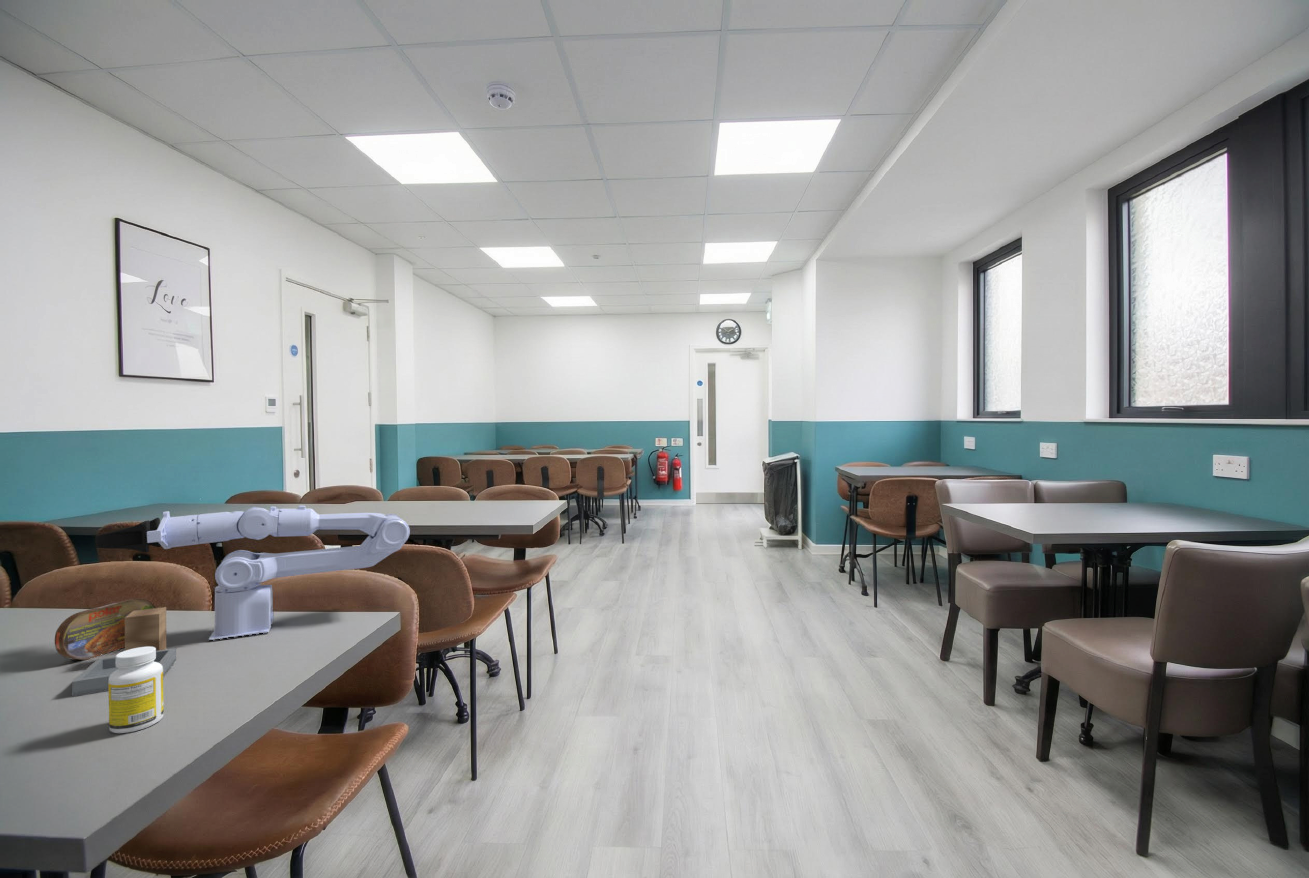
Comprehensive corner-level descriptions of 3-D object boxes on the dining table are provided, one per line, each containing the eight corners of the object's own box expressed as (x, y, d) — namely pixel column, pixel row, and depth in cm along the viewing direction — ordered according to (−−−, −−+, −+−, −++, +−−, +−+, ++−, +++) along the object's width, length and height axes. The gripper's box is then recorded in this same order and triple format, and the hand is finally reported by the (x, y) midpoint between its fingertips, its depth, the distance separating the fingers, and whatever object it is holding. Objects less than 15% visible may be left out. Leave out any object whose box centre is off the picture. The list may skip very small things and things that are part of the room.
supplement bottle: (132, 715, 78) (132, 644, 78) (173, 713, 78) (173, 643, 78) (96, 735, 72) (96, 659, 72) (141, 733, 73) (141, 658, 73)
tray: (176, 660, 97) (176, 647, 97) (159, 682, 88) (159, 668, 88) (97, 672, 92) (97, 658, 92) (72, 696, 83) (72, 681, 83)
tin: (64, 667, 94) (64, 617, 94) (50, 665, 95) (50, 616, 95) (159, 636, 109) (159, 593, 109) (146, 635, 110) (146, 592, 110)
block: (166, 651, 102) (166, 607, 102) (159, 659, 98) (159, 613, 98) (133, 655, 99) (133, 610, 99) (124, 664, 95) (124, 617, 95)
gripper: (203, 506, 114) (113, 515, 107) (191, 510, 102) (88, 520, 95) (205, 541, 114) (115, 551, 107) (193, 549, 102) (91, 561, 95)
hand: (103, 539), depth 101 cm, fingers open, 7 cm apart
